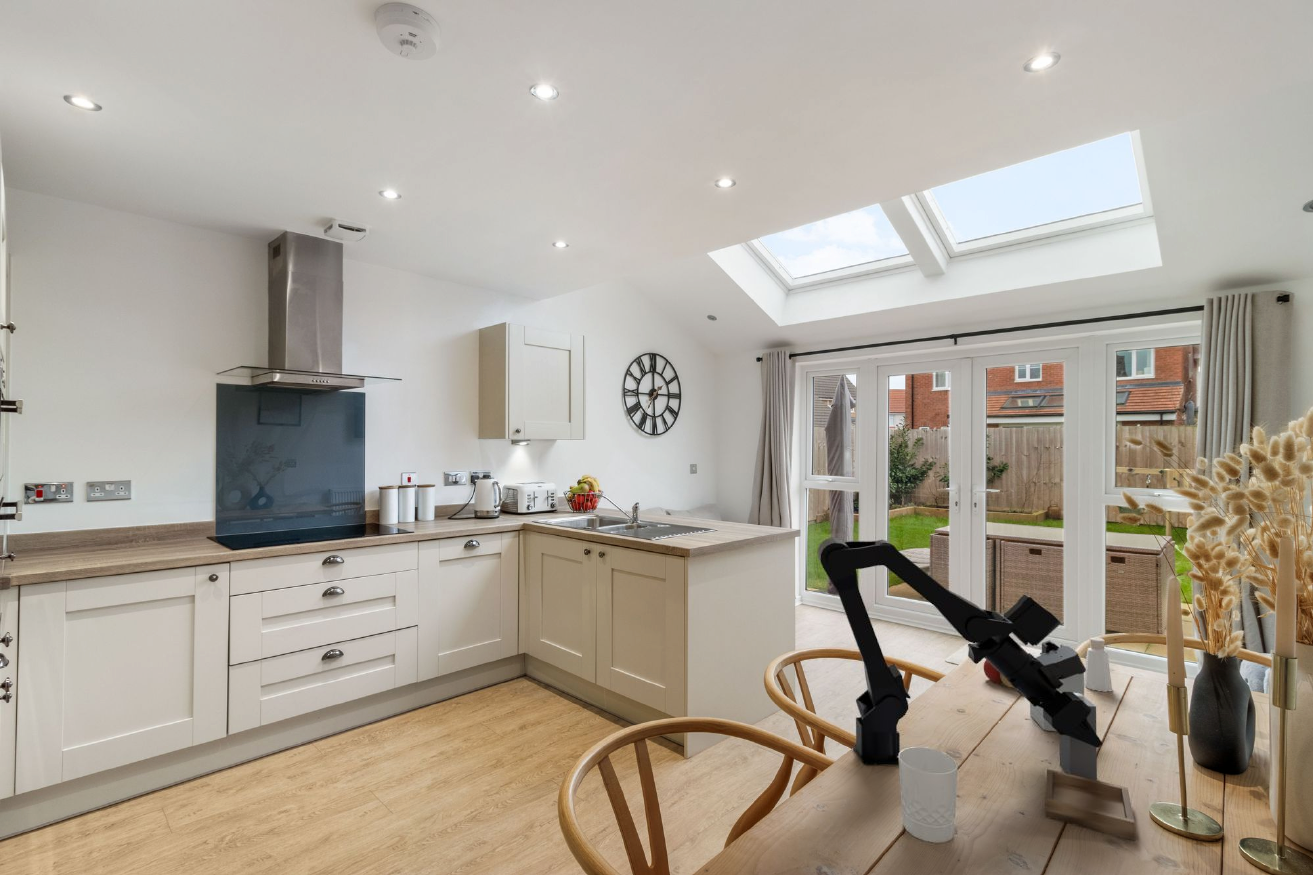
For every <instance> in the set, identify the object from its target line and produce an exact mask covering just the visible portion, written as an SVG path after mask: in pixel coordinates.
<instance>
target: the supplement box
mask: <svg viewBox="0 0 1313 875" xmlns="http://www.w3.org/2000/svg"><path fill="white" fill-rule="evenodd" d="M1030 654H1031V653H1030ZM1031 655H1032V656H1033V657H1035V658H1036V657H1038V656H1041V654H1040V653H1039V654H1036V653H1035V654H1033V653H1032V654H1031ZM1084 676H1085V672H1084V673H1082V674H1076V675H1073V676H1071V677H1068V678H1065V679H1059V680H1060V681H1061V682H1062V683H1063V685H1062V686H1061V687H1060V688H1059V689H1057V688H1056V689H1057V690H1058V691H1059V692H1060V693H1062V692H1073V693H1079V694H1082V695H1084V696H1085V685H1084ZM1029 715H1030V716H1031V718H1032V719H1033V720H1034V721H1036V723H1037V724H1038V725H1039V726H1040V727H1041V729H1042V730H1044V731H1049V732H1050V731H1051V732H1057V731H1056V730H1055V729H1054V728H1053V727H1052V726H1051V725H1050V724H1049V723H1048V722H1047V721H1046V720H1045V719H1044V718H1043V708H1041V707H1039V706H1036V707H1034V706H1033V705H1032V704H1031V703H1030V702H1029Z"/></svg>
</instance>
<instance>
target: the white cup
mask: <svg viewBox="0 0 1313 875" xmlns="http://www.w3.org/2000/svg"><path fill="white" fill-rule="evenodd" d="M897 757H898V759H899V765H898V772H899V775H898V776H899V790H900V801H901V802H900V803H901V809H902V824H903V827H904V828H905V830H906V831H907V833H909V834H910V835H911V836H913V837H914V838H917V839H920V840H921V841H924V842H928V841H929V843H933V844H934V843H935V844H939V843H940V844H941V843H946V842H948V841H950V840H952V839H953V837H954V834H955V818H956V810H957V809H956V807H957V797H958V796H957V795H958V794H957V793H958V792H957V791H958V788H957V787H958V767H959V766H958V763H957V761H956V760H955V759H954V758H953V757H952V756H950V755H949V754H948V753H946V752H944V751H941V750H938V749H935V748H932V747H925V746H910V747H909V746H908V747H905V748H903V749H901V750H900V752H899V754H898V756H897Z"/></svg>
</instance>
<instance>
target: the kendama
mask: <svg viewBox="0 0 1313 875" xmlns="http://www.w3.org/2000/svg"><path fill="white" fill-rule="evenodd" d="M983 672H984V675H985V677H986V678H988V679H989V680H990V681H991V682H994V683H996V684H1000V683H1002V685H1003V684H1004V685H1005V686H1006V687H1009V688H1014V687H1013V686H1012V685H1011V683H1010V682H1009V681H1008V680H1007V679H1006V678H1005V677H1004V676H1003V675H1002V674H1001V673H1000V672H999V671H997V670H996V669H995V668H994V667H993V666H992V665H991V664H990V663H989V662H988V661H987V660H986V659H985V661H984V663H983Z"/></svg>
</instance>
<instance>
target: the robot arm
mask: <svg viewBox="0 0 1313 875" xmlns="http://www.w3.org/2000/svg"><path fill="white" fill-rule="evenodd" d="M817 557H818V560H819V562H820V564H821V568H823V570H824V572H825V574H826V575H827V577H828V579H829V580H830V583H831V584H832V586H833V587H834V589H835V591H836V592H837V594H838V597H839V599H840V602H841V605H842V607H843V611H844V613H845V616H846V618H847V621H848V624H849V627H850V630H851V631H852V632H851V633H852V636H853V638H854V640H855V643H856V646H857V648H858V650H859V654H860V656H861V660H862V663H863V668H864V677H865V682H866V683H865V684H866V690H865V691H864V692H863V693H861V695H860V696H858V697H857V698H856V699H855V703H856V706H857V709H858V712H859V714H860V716H859V717H855V744H853V745H852V749H853V750H854V752H855V753H856V755H857V756H858V758H859V759H860V761H861V762H862V764H863V765H865V766H881V765H882V766H885V765H887V766H888V765H891V766H893V765H894V766H896V765H897V766H899V759H898V754H899V752H900V751H901V750H900V748H901V743H900V740H901V739H900V732H899V731H898V729H897V728H898V723H899V721H900V720H901V719H903V718H904V717H905V715H906V714H907V712H908V710H909V702H908V699H911V697H912V696H910V694H909V692H908V690H907V689H906V687H905V684H904V679H903V674H902V672H901V671H900V669H899V668H898V666H897V664H896V663H892V664H890V665H888V663H887V662H886V660H885V656H884V654H883V651H882V649H881V646H880V643H879V641H878V638H877V635H876V632H875V629H874V627H873V625H872V621H871V619H870V616H869V613H868V611H867V608H866V606H865V602H864V600H863V597H862V595H861V591H860V588H859V581H858V574H857V570H862V569H867V568H868V569H869V568H872V567H878V566H884V567H885V568H887V569H888V570H889V571H890V572H891V573H893V574H894V575H895V576H897V577H898V578H899V580H902V581H903V582H904V583H905V584H906V585H908V586H909V587H910V588H911V589H913V590H914V591H915V592H916V593H918V594H919V595H920V596H921V597H923V598H924V599H925V600H926V601H928V602H929V603H930V604H932V605H933V606H934V608H935V609H936V610H937V611H938V612H939V613H940V614H941V616H942V617H943V618H944V620H946V621H947V622H948V624H949V625H950V626H951V627H952V628H953V629H954V630H955V631H956V632H957V633H958V634H959V635H960V636H961V637H962V638H963V639H964V640H965V641H968V643H967V647H968V650H967V651H968V652H967V657H968V659H970V660H971V661H972V662H973V663H974V664H976V665H977V664H979V663H980V662H981V661H982V660H983V659H985V661H986V660H987V661H988V662H989V663H990V664H991V665H992V666H993V667H994V668H995V669H996V670H997V671H999V672H1000V673H1001V674H1002V675H1003V676H1004V677H1005V678H1006V679H1007V680H1008V681H1009V682H1010V683H1011V685H1012V686H1013V687H1012V688H1014V690H1016V691H1017V692H1018V693H1019V694H1020V695H1021V696H1022V697H1024V698H1025V699H1026V700H1027V701H1028V702H1029V704H1030V703H1031V704H1032V705H1033V706H1034V707H1036V706H1039V707H1041V708H1043V718H1044V719H1045V720H1046V721H1047V722H1048V723H1049V724H1050V725H1051V726H1052V727H1053V728H1054V729H1055V730H1056V731H1055V732H1057V733H1058V734H1060V735H1067V736H1069V737H1072V738H1075V739H1077V740H1080V741H1082V742H1085V743H1087V744H1089V745H1092V746H1094V747H1097V748H1100V747H1101V746H1102V745H1103V741H1102V740H1101V739H1100V737H1099V736H1098V734H1097V732H1096V733H1095V731H1094V730H1093V728H1092V727H1091V725H1090V724H1089V722H1088V720H1087V717H1088V716H1089V714H1090V713H1091V708H1090V707H1089V706H1087V705H1086V704H1085V703H1084V702H1083V701H1082V700H1081V699H1080V698H1079V697H1078V696H1076V695H1075V694H1074V693H1073V692H1062V693H1060V692H1059V691H1058V690H1057V689H1059V688H1060V687H1061V686H1062V685H1063V683H1062V682H1061V681H1060V680H1059V679H1065V678H1068V677H1071V676H1073V675H1076V674H1082V673H1084V674H1085V671H1086V669H1085V667H1086V666H1085V664H1084V663H1083V661H1082V659H1081V658H1080V655H1079V653H1078V652H1077V650H1075V649H1073V648H1071V646H1068V645H1064V644H1060V645H1057V644H1056V643H1054V642H1053V641H1051V640H1047V641H1044V639H1045V638H1047V637H1048V636H1049V635H1050V634H1051V633H1053V631H1055V630H1056V629H1057V628H1058V627H1059V626H1060V625H1062V622H1061V621H1060V620H1059V619H1058V618H1057V617H1056V616H1055V615H1054V614H1053V613H1052V612H1050V611H1049V610H1047V609H1046V608H1044V607H1043V606H1042V605H1040V604H1039V603H1038V602H1037V601H1035V599H1033V598H1032V597H1031V596H1030V595H1028V594H1026V593H1025V594H1023V595H1022V596H1020V598H1019V599H1018V600H1017V602H1016V603H1015V604H1013V605H1012V606H1011V607H1010V608H1009V610H1007V611H1005V613H1004V614H1003V615H1002V614H1001V613H1000V612H999V611H996V610H990V609H983V608H980V606H978V605H977V604H975V603H973V602H972V601H970V600H968V599H966V598H965V597H963V596H961V595H960V594H957V593H956V592H954V591H951V590H949V589H948V588H946V587H944V586H943V585H942V584H941V583H940V582H938V581H937V580H936V579H934V578H933V577H932V576H931V575H929V574H928V573H927V572H925V571H924V570H923V569H922V568H920V567H919V566H918V565H917V564H916V563H915V562H913V561H911V560H910V559H909V558H908V557H907V556H906V555H905V554H903V553H902V552H900V550H898V548H896V546H895V545H894V544H892V543H891V542H890V541H888V540H886V539H878V540H868V541H867V540H852V541H851V540H850V541H849V540H848V541H844V540H842V539H841V538H837V537H829V538H826V539H824V540H823V541H822V542H820V544H819V546H818V548H817ZM1011 634H1012V635H1013V636H1015V638H1017V639H1018V641H1020V642H1021V643H1022V644H1023V645H1024V646H1028V644H1029V645H1031V646H1032V647H1036V646H1038V645H1039V644H1040V643H1041V642H1042V641H1044V642H1042V643H1041V652H1039V655H1041V656H1038V657H1036V658H1035V657H1033V656H1032V655H1031V653H1030V652H1028V651H1026V649H1024V648H1023V647H1022V646H1021V645H1020V644H1019V643H1018V642H1017V641H1016V640H1014V638H1013V637H1011ZM1056 688H1057V689H1056Z"/></svg>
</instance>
